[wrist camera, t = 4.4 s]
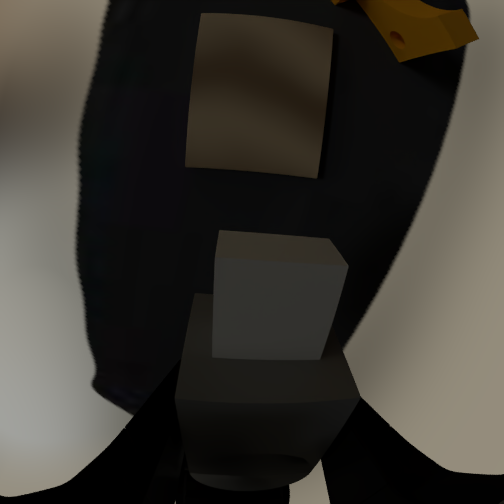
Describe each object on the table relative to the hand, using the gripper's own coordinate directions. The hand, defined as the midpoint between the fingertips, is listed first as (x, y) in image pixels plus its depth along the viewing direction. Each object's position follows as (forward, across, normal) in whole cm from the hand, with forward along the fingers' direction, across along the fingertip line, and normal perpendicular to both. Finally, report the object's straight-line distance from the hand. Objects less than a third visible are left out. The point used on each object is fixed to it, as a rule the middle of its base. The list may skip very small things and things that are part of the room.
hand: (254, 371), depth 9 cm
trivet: (+11, 0, -10) cm, 15 cm away
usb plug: (+1, 0, -1) cm, 2 cm away
